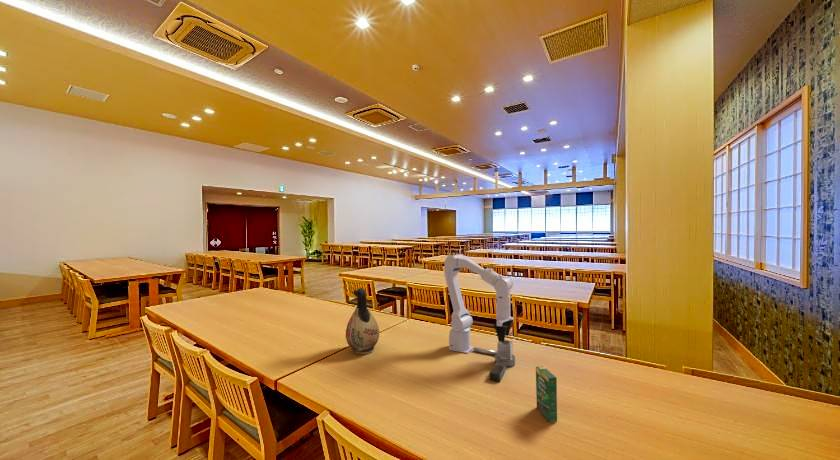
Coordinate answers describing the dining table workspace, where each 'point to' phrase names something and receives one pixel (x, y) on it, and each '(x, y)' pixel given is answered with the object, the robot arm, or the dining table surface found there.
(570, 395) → the dining table surface
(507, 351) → the socket
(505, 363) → the ratchet
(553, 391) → the coffee box
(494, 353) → the bar
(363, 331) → the ceramic jug
